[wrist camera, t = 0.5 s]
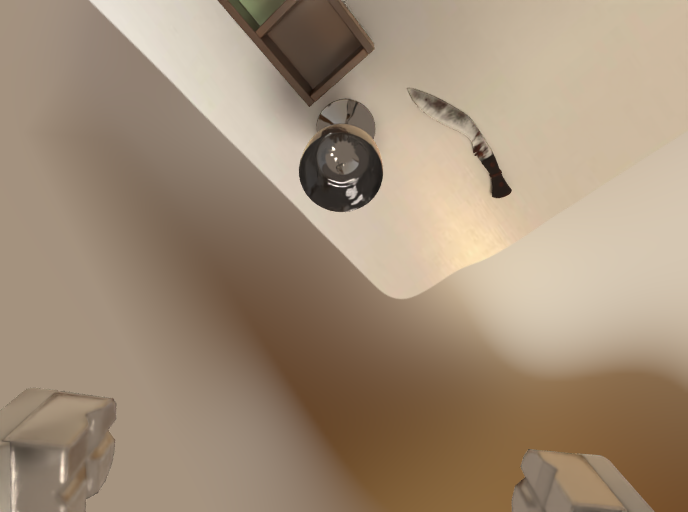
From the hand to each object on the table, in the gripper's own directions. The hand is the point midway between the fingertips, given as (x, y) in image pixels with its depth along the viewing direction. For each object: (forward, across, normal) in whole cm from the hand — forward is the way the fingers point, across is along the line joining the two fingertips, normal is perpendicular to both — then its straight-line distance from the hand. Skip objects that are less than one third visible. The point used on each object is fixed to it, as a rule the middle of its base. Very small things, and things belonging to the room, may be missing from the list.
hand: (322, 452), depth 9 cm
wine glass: (+51, -1, -8) cm, 52 cm away
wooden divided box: (+48, +7, -19) cm, 52 cm away
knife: (+51, -15, -8) cm, 54 cm away
